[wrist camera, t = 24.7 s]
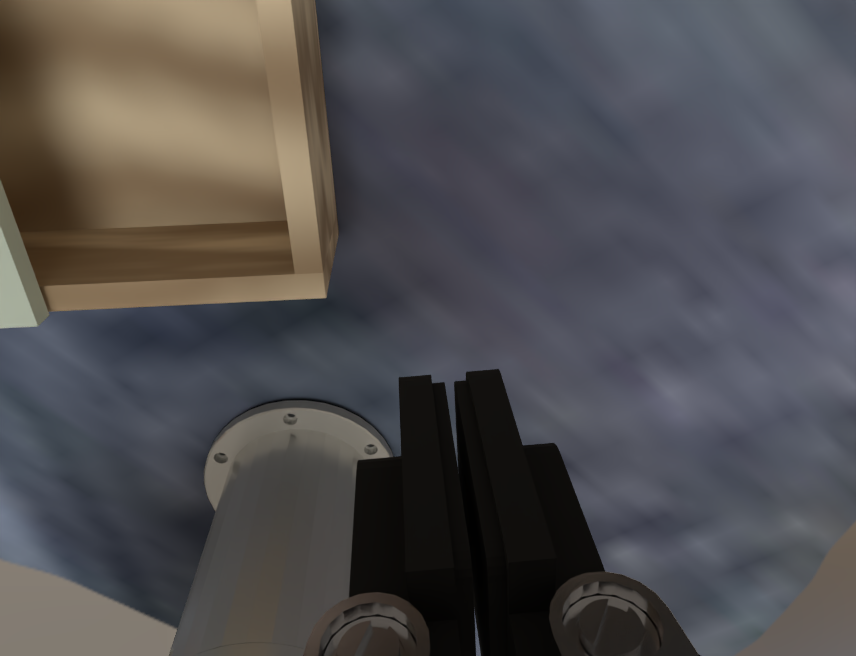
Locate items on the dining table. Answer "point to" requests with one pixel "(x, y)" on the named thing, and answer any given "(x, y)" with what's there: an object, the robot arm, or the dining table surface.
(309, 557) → the robot arm
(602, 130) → the dining table surface
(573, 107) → the dining table surface
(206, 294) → the toolbox
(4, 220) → the lid
